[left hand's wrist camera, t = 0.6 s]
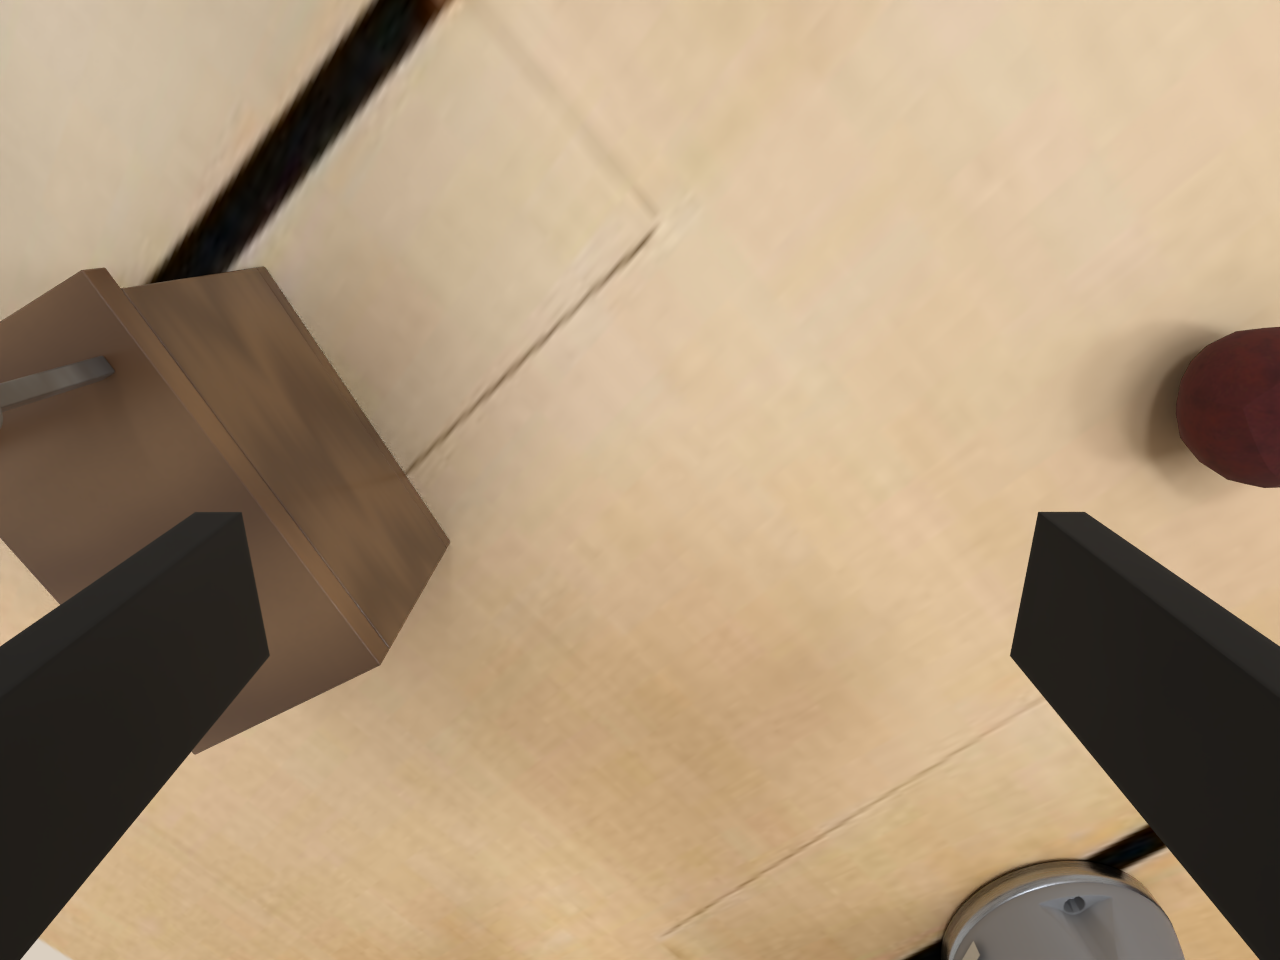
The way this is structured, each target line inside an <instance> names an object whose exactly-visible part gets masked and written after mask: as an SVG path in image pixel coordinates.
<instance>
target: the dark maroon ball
mask: <svg viewBox="0 0 1280 960" xmlns="http://www.w3.org/2000/svg"><path fill="white" fill-rule="evenodd" d="M1176 416H1177V422H1178V427H1179V433H1180V438H1181V439H1182V440H1183V442H1184V443H1185V444H1186V446H1187V447H1188V448H1189V449H1190V451H1191V452H1192V453H1193V454H1194V455H1195V457H1196V458H1197V459H1198V460H1199V461H1200V462H1201V463H1203V464H1204V465H1206V466H1207V467H1209V468H1210V469H1212V470H1213V471H1215V472H1217V473H1218V474H1220V475H1221V476H1223V477H1224V478H1226V479H1228V480H1232V481H1236V482H1240V483H1244V484H1248V485H1253V486H1258V487H1263V488H1276V487H1280V327H1272V328H1261V329H1252V330H1244V331H1236V332H1234V333H1232V334H1230V335H1227V336H1225V337H1223V338H1221V339H1219V340H1217V341H1215V342H1213V343H1211V344H1209V345H1208V346H1206V347H1205V348H1204V349H1203V350H1202V351H1201V352H1200V353H1199V354H1198V355H1197V356H1196V357H1195V358H1194V359H1193V360H1192V361H1191V362H1190V364H1189V366H1188V368H1187V370H1186V372H1185V374H1184V375H1183V377H1182V379H1181V383H1180V388H1179V393H1178V399H1177V404H1176Z"/></svg>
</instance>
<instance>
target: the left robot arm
mask: <svg viewBox="0 0 1280 960" xmlns="http://www.w3.org/2000/svg"><path fill="white" fill-rule="evenodd" d="M269 656H270V654H269V649H268V643H267V638H266V633H265V628H264V623H263V618H262V613H261V608H260V603H259V598H258V592H257V587H256V582H255V577H254V572H253V567H252V562H251V557H250V552H249V547H248V542H247V536H246V531H245V526H244V521H243V516H242V512H195V513H193V514H192V515H190V516H189V517H187V518H186V519H184V520H183V521H181V522H180V523H179V524H177V525H176V526H174V527H173V528H171V529H170V530H168V531H167V532H166V533H164V534H163V535H161V536H160V537H158V538H157V539H155V540H154V541H153V542H151V543H150V544H148V545H147V546H145V547H144V548H142V549H141V550H139V551H138V552H137V553H135V554H134V555H132V556H131V557H129V558H128V559H126V560H125V561H124V562H122V563H121V564H119V565H118V566H116V567H115V568H113V569H112V570H110V571H109V572H108V573H106V574H105V575H103V576H102V577H100V578H99V579H97V580H96V581H95V582H93V583H92V584H90V585H89V586H87V587H86V588H84V589H83V590H81V591H80V592H79V593H77V594H76V595H74V596H73V597H71V598H70V599H68V600H67V601H66V602H64V603H63V604H61V605H60V606H58V607H57V608H55V609H54V610H52V611H51V612H50V613H48V614H47V615H45V616H44V617H42V618H41V619H39V620H38V621H37V622H35V623H34V624H32V625H31V626H29V627H28V628H26V629H25V630H23V631H22V632H21V633H19V634H18V635H16V636H15V637H13V638H12V639H10V640H9V641H8V642H6V643H5V644H3V645H2V646H0V960H20V959H21V958H22V957H23V956H24V955H25V953H26V952H27V951H28V950H29V948H30V947H31V946H32V945H33V944H34V942H35V941H36V940H37V939H38V938H39V936H40V935H41V934H42V933H43V931H44V930H45V929H46V928H47V927H48V925H49V924H50V923H51V922H52V921H53V919H54V918H55V917H56V916H57V914H58V913H59V912H60V911H61V910H62V908H63V907H64V906H65V905H66V903H67V902H68V901H69V900H70V899H71V897H72V896H73V895H74V894H75V893H76V891H77V890H78V889H79V888H80V886H81V885H82V884H83V883H84V882H85V880H86V879H87V878H88V877H89V875H90V874H91V873H92V872H93V871H94V869H95V868H96V867H97V866H98V865H99V863H100V862H101V861H102V860H103V858H104V857H105V856H106V855H107V854H108V852H109V851H110V850H111V849H112V847H113V846H114V845H115V844H116V843H117V841H118V840H119V839H120V838H121V837H122V835H123V834H124V833H125V832H126V830H127V829H128V828H129V827H130V826H131V824H132V823H133V822H134V821H135V819H136V818H137V817H138V816H139V815H140V813H141V812H142V811H143V810H144V809H145V807H146V806H147V805H148V804H149V802H150V801H151V800H152V799H153V798H154V796H155V795H156V794H157V793H158V791H159V790H160V789H161V788H162V787H163V785H164V784H165V783H166V782H167V781H168V779H169V778H170V777H171V776H172V774H173V773H174V772H175V771H176V770H177V768H178V767H179V766H180V765H181V763H182V762H183V761H184V760H185V759H186V757H187V756H188V755H189V754H190V753H191V751H192V750H193V749H194V748H195V746H196V745H197V744H198V743H199V742H200V740H201V739H202V738H203V737H204V735H205V734H206V733H207V732H208V731H209V729H210V728H211V727H212V726H213V725H214V723H215V722H216V721H217V720H218V718H219V717H220V716H221V715H222V714H223V712H224V711H225V710H226V709H227V707H228V706H229V705H230V704H231V703H232V701H233V700H234V699H235V698H236V697H237V695H238V694H239V693H240V692H241V690H242V689H243V688H244V687H245V686H246V684H247V683H248V682H249V681H250V679H251V678H252V677H253V676H254V675H255V673H256V672H257V671H258V670H259V669H260V667H261V666H262V665H263V664H264V662H265V661H266V660H267V659H268V658H269ZM1010 656H1011V658H1012V659H1013V660H1014V661H1015V662H1016V664H1017V665H1018V666H1019V667H1020V669H1021V670H1022V671H1023V672H1024V673H1025V675H1026V676H1027V677H1028V678H1029V679H1030V681H1031V682H1032V683H1033V684H1034V686H1035V687H1036V688H1037V689H1038V690H1039V692H1040V693H1041V694H1042V695H1043V697H1044V698H1045V699H1046V700H1047V701H1048V703H1049V704H1050V705H1051V706H1052V707H1053V709H1054V710H1055V711H1056V712H1057V714H1058V715H1059V716H1060V717H1061V718H1062V720H1063V721H1064V722H1065V723H1066V725H1067V726H1068V727H1069V728H1070V729H1071V731H1072V732H1073V733H1074V734H1075V735H1076V737H1077V738H1078V739H1079V740H1080V742H1081V743H1082V744H1083V745H1084V746H1085V748H1086V749H1087V750H1088V751H1089V753H1090V754H1091V755H1092V756H1093V757H1094V759H1095V760H1096V761H1097V762H1098V763H1099V765H1100V766H1101V767H1102V768H1103V770H1104V771H1105V772H1106V773H1107V774H1108V776H1109V777H1110V778H1111V779H1112V781H1113V782H1114V783H1115V784H1116V785H1117V787H1118V788H1119V789H1120V790H1121V791H1122V793H1123V794H1124V795H1125V796H1126V798H1127V799H1128V800H1129V801H1130V802H1131V804H1132V805H1133V806H1134V807H1135V809H1136V810H1137V811H1138V812H1139V813H1140V815H1141V816H1142V817H1143V818H1144V819H1145V821H1146V822H1147V823H1148V824H1149V826H1150V827H1151V828H1152V829H1153V830H1154V832H1155V833H1156V834H1157V835H1158V837H1159V838H1160V839H1161V840H1162V841H1163V843H1164V844H1165V845H1166V846H1167V847H1168V849H1169V850H1170V851H1171V852H1172V854H1173V855H1174V856H1175V857H1176V858H1177V860H1178V861H1179V862H1180V863H1181V865H1182V866H1183V867H1184V868H1185V869H1186V871H1187V872H1188V873H1189V874H1190V875H1191V877H1192V878H1193V879H1194V880H1195V882H1196V883H1197V884H1198V885H1199V886H1200V888H1201V889H1202V890H1203V891H1204V893H1205V894H1206V895H1207V896H1208V897H1209V899H1210V900H1211V901H1212V902H1213V903H1214V905H1215V906H1216V907H1217V908H1218V910H1219V911H1220V912H1221V913H1222V914H1223V916H1224V917H1225V918H1226V919H1227V921H1228V922H1229V923H1230V924H1231V925H1232V927H1233V928H1234V929H1235V930H1236V931H1237V933H1238V934H1239V935H1240V936H1241V938H1242V939H1243V940H1244V941H1245V942H1246V944H1247V945H1248V946H1249V947H1250V949H1251V950H1252V951H1253V952H1254V953H1255V955H1256V956H1257V957H1258V958H1259V960H1280V646H1278V645H1277V644H1275V643H1274V642H1272V641H1271V640H1270V639H1268V638H1267V637H1265V636H1264V635H1262V634H1261V633H1259V632H1258V631H1257V630H1255V629H1254V628H1252V627H1251V626H1249V625H1248V624H1246V623H1245V622H1243V621H1242V620H1241V619H1239V618H1238V617H1236V616H1235V615H1233V614H1232V613H1230V612H1229V611H1228V610H1226V609H1225V608H1223V607H1222V606H1220V605H1219V604H1217V603H1216V602H1214V601H1213V600H1212V599H1210V598H1209V597H1207V596H1206V595H1204V594H1203V593H1201V592H1200V591H1199V590H1197V589H1196V588H1194V587H1193V586H1191V585H1190V584H1188V583H1187V582H1185V581H1184V580H1183V579H1181V578H1180V577H1178V576H1177V575H1175V574H1174V573H1172V572H1171V571H1170V570H1168V569H1167V568H1165V567H1164V566H1162V565H1161V564H1159V563H1158V562H1156V561H1155V560H1154V559H1152V558H1151V557H1149V556H1148V555H1146V554H1145V553H1143V552H1142V551H1141V550H1139V549H1138V548H1136V547H1135V546H1133V545H1132V544H1130V543H1129V542H1127V541H1126V540H1125V539H1123V538H1122V537H1120V536H1119V535H1117V534H1116V533H1114V532H1113V531H1112V530H1110V529H1109V528H1107V527H1106V526H1104V525H1103V524H1101V523H1100V522H1098V521H1097V520H1096V519H1094V518H1093V517H1091V516H1090V515H1088V514H1087V513H1085V512H1038V516H1037V521H1036V526H1035V531H1034V536H1033V542H1032V547H1031V552H1030V557H1029V562H1028V567H1027V572H1026V577H1025V582H1024V587H1023V592H1022V598H1021V603H1020V608H1019V613H1018V618H1017V623H1016V628H1015V633H1014V638H1013V643H1012V649H1011V654H1010Z"/></svg>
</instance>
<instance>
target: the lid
mask: <svg viewBox="0 0 1280 960" xmlns="http://www.w3.org/2000/svg"><path fill="white" fill-rule="evenodd" d="M195 512H242V516H243V521H244V526H245V531H246V536H247V542H248V547H249V552H250V557H251V562H252V567H253V572H254V577H255V582H256V587H257V592H258V598H259V603H260V608H261V613H262V618H263V623H264V628H265V633H266V638H267V643H268V649H269V654H270V656H269V658H268V659H267V660H266V661H265V662H264V664H263V665H262V666H261V667H260V669H259V670H258V671H257V672H256V673H255V675H254V676H253V677H252V678H251V679H250V681H249V682H248V683H247V684H246V686H245V687H244V688H243V689H242V690H241V692H240V693H239V694H238V695H237V697H236V698H235V699H234V700H233V701H232V703H231V704H230V705H229V706H228V707H227V709H226V710H225V711H224V712H223V714H222V715H221V716H220V717H219V718H218V720H217V721H216V722H215V723H214V725H213V726H212V727H211V728H210V729H209V731H208V732H207V733H206V734H205V735H204V737H203V738H202V739H201V740H200V742H199V743H198V744H197V745H196V746H195V748H194V749H193V750H192V753H193V754H198V753H200V752H202V751H204V750H206V749H208V748H210V747H212V746H214V745H216V744H218V743H220V742H222V741H224V740H226V739H229V738H231V737H233V736H235V735H237V734H239V733H241V732H243V731H245V730H247V729H249V728H251V727H253V726H255V725H257V724H260V723H262V722H264V721H266V720H268V719H270V718H272V717H274V716H276V715H278V714H280V713H282V712H284V711H286V710H288V709H291V708H293V707H295V706H297V705H299V704H301V703H303V702H305V701H307V700H309V699H311V698H313V697H315V696H317V695H319V694H322V693H324V692H326V691H328V690H330V689H332V688H334V687H336V686H338V685H340V684H342V683H344V682H346V681H348V680H350V679H353V678H355V677H357V676H359V675H361V674H363V673H365V672H367V671H369V670H371V669H373V668H375V667H377V666H379V665H381V663H382V661H383V659H384V658H385V656H386V654H387V652H388V651H389V649H388V647H387V646H386V644H385V643H384V642H383V640H382V639H381V638H380V636H379V635H378V634H377V632H376V631H375V630H374V628H373V627H372V626H371V624H370V623H369V622H368V620H367V619H366V618H365V616H364V615H363V614H362V612H361V611H360V610H359V608H358V607H357V606H356V604H355V603H354V602H353V600H352V599H351V597H350V596H349V595H348V593H347V592H346V591H345V589H344V588H343V587H342V585H341V584H340V583H339V581H338V580H337V579H336V577H335V576H334V575H333V573H332V572H331V571H330V569H329V568H328V567H327V565H326V564H325V563H324V561H323V560H322V559H321V557H320V556H319V554H318V553H317V552H316V550H315V549H314V548H313V546H312V545H311V544H310V542H309V541H308V540H307V538H306V537H305V536H304V534H303V533H302V532H301V530H300V529H299V528H298V526H297V525H296V524H295V522H294V521H293V520H292V518H291V517H290V516H289V514H288V513H287V511H286V510H285V509H284V507H283V506H282V505H281V503H280V502H279V501H278V499H277V498H276V497H275V495H274V494H273V493H272V491H271V490H270V489H269V487H268V486H267V485H266V483H265V482H264V481H263V479H262V478H261V477H260V475H259V474H258V473H257V471H256V470H255V469H254V467H253V466H252V464H251V463H250V462H249V460H248V459H247V458H246V456H245V455H244V454H243V452H242V451H241V450H240V448H239V447H238V446H237V444H236V443H235V442H234V440H233V439H232V438H231V436H230V435H229V434H228V432H227V431H226V430H225V428H224V427H223V426H222V424H221V423H220V421H219V420H218V419H217V417H216V416H215V415H214V413H213V412H212V411H211V409H210V408H209V407H208V405H207V404H206V403H205V401H204V400H203V399H202V397H201V396H200V395H199V393H198V392H197V391H196V389H195V388H194V387H193V385H192V384H191V383H190V381H189V380H188V378H187V377H186V376H185V374H184V373H183V372H182V370H181V369H180V368H179V366H178V365H177V364H176V362H175V361H174V360H173V358H172V357H171V356H170V354H169V353H168V352H167V350H166V349H165V348H164V346H163V345H162V344H161V342H160V341H159V340H158V338H157V337H156V336H155V334H154V333H153V331H152V330H151V329H150V327H149V326H148V325H147V323H146V322H145V321H144V319H143V318H142V317H141V315H140V314H139V313H138V311H137V310H136V309H135V307H134V306H133V305H132V303H131V302H130V301H129V299H128V298H127V297H126V295H125V294H124V293H123V291H122V290H121V288H120V287H119V286H118V284H117V283H116V282H115V280H114V279H113V278H112V276H111V275H110V274H109V272H108V271H107V270H106V269H105V268H97V269H88V270H81V271H80V272H78V273H76V274H75V275H73V276H72V277H70V278H68V279H67V280H65V281H64V282H62V283H61V284H59V285H57V286H56V287H54V288H53V289H51V290H50V291H48V292H46V293H45V294H43V295H42V296H40V297H38V298H37V299H35V300H34V301H32V302H31V303H29V304H27V305H26V306H24V307H23V308H21V309H20V310H18V311H16V312H15V313H13V314H12V315H10V316H9V317H7V318H5V319H4V320H2V321H1V322H0V538H1V539H2V540H3V541H4V543H5V544H6V545H7V546H8V547H9V548H10V549H11V550H12V551H13V553H14V554H15V555H16V556H17V557H18V558H19V559H20V560H21V562H22V563H23V564H24V565H25V566H26V567H27V568H28V569H29V570H30V572H31V573H32V574H33V575H34V576H35V577H36V578H37V579H38V580H39V582H40V583H41V584H42V585H43V586H44V587H45V588H46V589H47V591H48V592H49V593H50V594H51V595H52V596H53V597H54V598H55V599H56V601H57V602H58V603H59V604H60V605H61V604H63V603H64V602H66V601H67V600H68V599H70V598H71V597H73V596H74V595H76V594H77V593H79V592H80V591H81V590H83V589H84V588H86V587H87V586H89V585H90V584H92V583H93V582H95V581H96V580H97V579H99V578H100V577H102V576H103V575H105V574H106V573H108V572H109V571H110V570H112V569H113V568H115V567H116V566H118V565H119V564H121V563H122V562H124V561H125V560H126V559H128V558H129V557H131V556H132V555H134V554H135V553H137V552H138V551H139V550H141V549H142V548H144V547H145V546H147V545H148V544H150V543H151V542H153V541H154V540H155V539H157V538H158V537H160V536H161V535H163V534H164V533H166V532H167V531H168V530H170V529H171V528H173V527H174V526H176V525H177V524H179V523H180V522H181V521H183V520H184V519H186V518H187V517H189V516H190V515H192V514H193V513H195Z"/></svg>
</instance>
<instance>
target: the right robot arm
mask: <svg viewBox="0 0 1280 960" xmlns="http://www.w3.org/2000/svg"><path fill="white" fill-rule="evenodd" d="M941 960H1185V958H1184V955H1183V952H1182V950H1181V947H1180V944H1179V941H1178V938H1177V935H1176V933H1175V931H1174V928H1173V926H1172V923H1171V922H1170V920H1169V918H1168V916H1167V915H1166V914H1165V912H1164V911H1163V910H1162V908H1161V907H1160V906H1159V904H1158V903H1157V902H1156V900H1155V899H1154V898H1153V896H1152V895H1151V894H1150V892H1149V891H1148V890H1147V889H1146V888H1145V887H1144V886H1143V885H1142V884H1141V883H1140V882H1139V881H1137V880H1136V879H1135V878H1133V877H1132V876H1130V875H1128V874H1127V873H1125V872H1123V871H1120V870H1118V869H1116V868H1113V867H1110V866H1106V865H1102V864H1098V863H1092V862H1084V861H1058V862H1049V863H1043V864H1038V865H1033V866H1030V867H1026V868H1023V869H1020V870H1017V871H1014V872H1012V873H1009V874H1007V875H1005V876H1003V877H1000V878H999V879H997V880H995V881H993V882H991V883H990V884H988V885H986V886H985V887H983V888H982V889H981V890H979V891H978V892H977V893H975V894H974V895H973V896H972V897H971V898H969V899H968V900H967V901H966V902H965V903H964V904H963V905H962V906H961V908H960V909H959V910H958V911H957V913H956V914H955V915H954V917H953V918H952V920H951V921H950V923H949V925H948V927H947V929H946V931H945V934H944V937H943V941H942V946H941Z"/></svg>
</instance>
